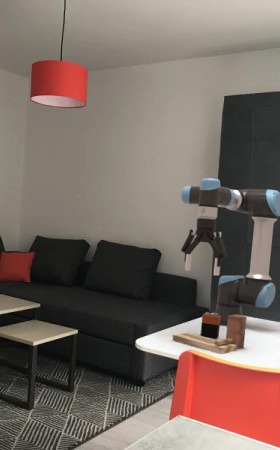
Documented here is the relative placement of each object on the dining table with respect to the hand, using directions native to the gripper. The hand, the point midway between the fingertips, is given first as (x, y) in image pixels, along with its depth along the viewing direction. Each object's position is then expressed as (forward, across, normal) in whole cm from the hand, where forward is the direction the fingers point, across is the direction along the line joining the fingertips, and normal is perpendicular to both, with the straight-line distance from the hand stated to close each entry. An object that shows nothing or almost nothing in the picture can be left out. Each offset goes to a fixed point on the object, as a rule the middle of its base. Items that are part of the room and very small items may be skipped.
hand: (201, 272), depth 198 cm
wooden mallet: (+27, +14, +2) cm, 30 cm away
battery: (+27, -2, +13) cm, 30 cm away
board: (+27, +6, -2) cm, 27 cm away
